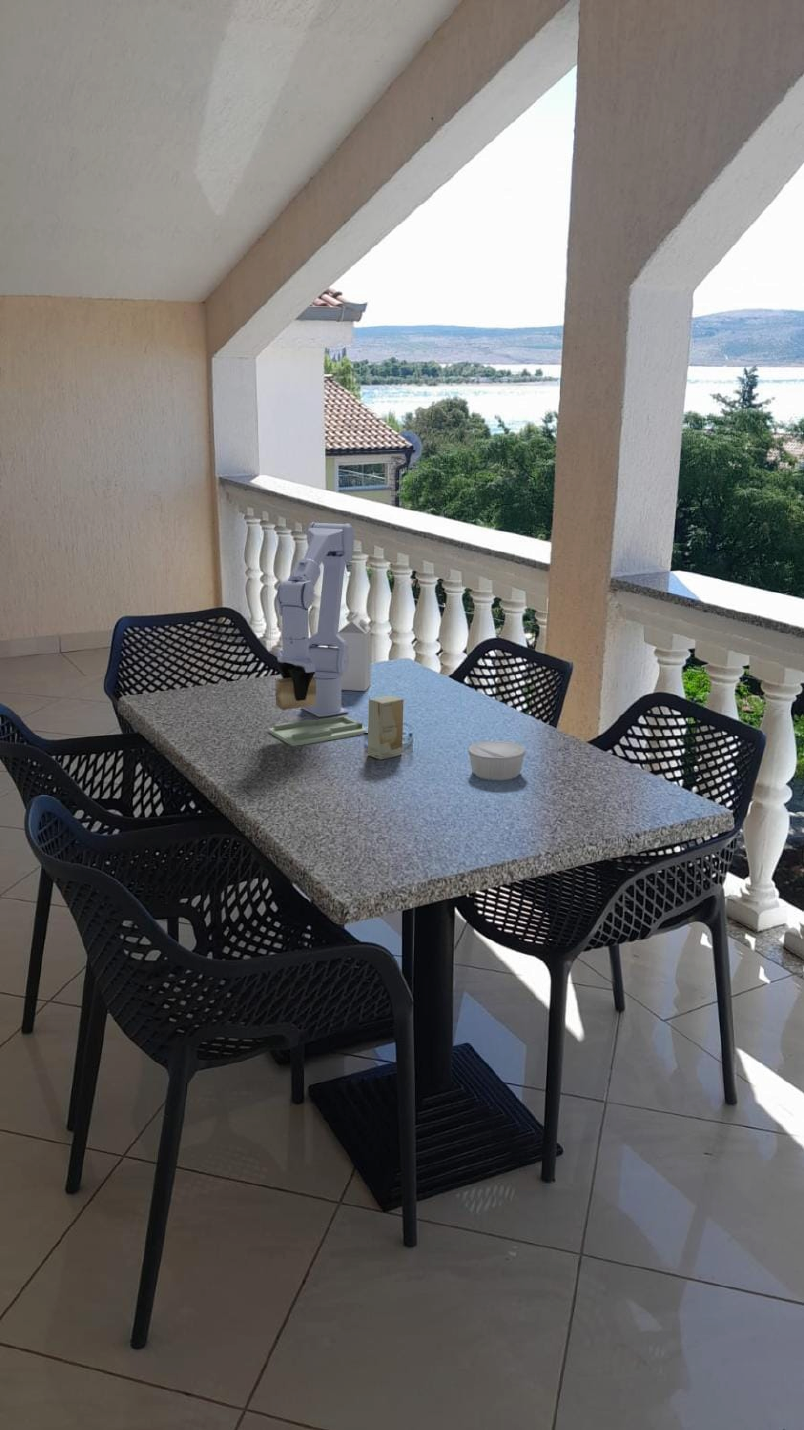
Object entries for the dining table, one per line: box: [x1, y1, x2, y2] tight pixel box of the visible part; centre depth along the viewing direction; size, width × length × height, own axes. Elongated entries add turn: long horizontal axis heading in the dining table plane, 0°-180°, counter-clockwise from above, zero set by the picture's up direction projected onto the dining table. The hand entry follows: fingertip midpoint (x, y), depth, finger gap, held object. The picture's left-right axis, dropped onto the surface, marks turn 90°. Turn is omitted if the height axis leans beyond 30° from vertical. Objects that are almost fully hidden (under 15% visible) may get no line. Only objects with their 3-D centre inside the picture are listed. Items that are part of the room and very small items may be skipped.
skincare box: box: [367, 694, 404, 761], centre depth 230 cm, size 6×4×12 cm
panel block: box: [274, 677, 316, 711], centre depth 242 cm, size 4×8×6 cm, turn 122°
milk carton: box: [338, 611, 372, 692], centre depth 282 cm, size 7×7×19 cm
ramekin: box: [468, 740, 526, 782], centre depth 221 cm, size 11×11×5 cm
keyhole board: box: [267, 714, 368, 747], centre depth 246 cm, size 12×19×2 cm, turn 122°
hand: (296, 697), depth 243 cm, fingers closed on panel block, 4 cm apart
